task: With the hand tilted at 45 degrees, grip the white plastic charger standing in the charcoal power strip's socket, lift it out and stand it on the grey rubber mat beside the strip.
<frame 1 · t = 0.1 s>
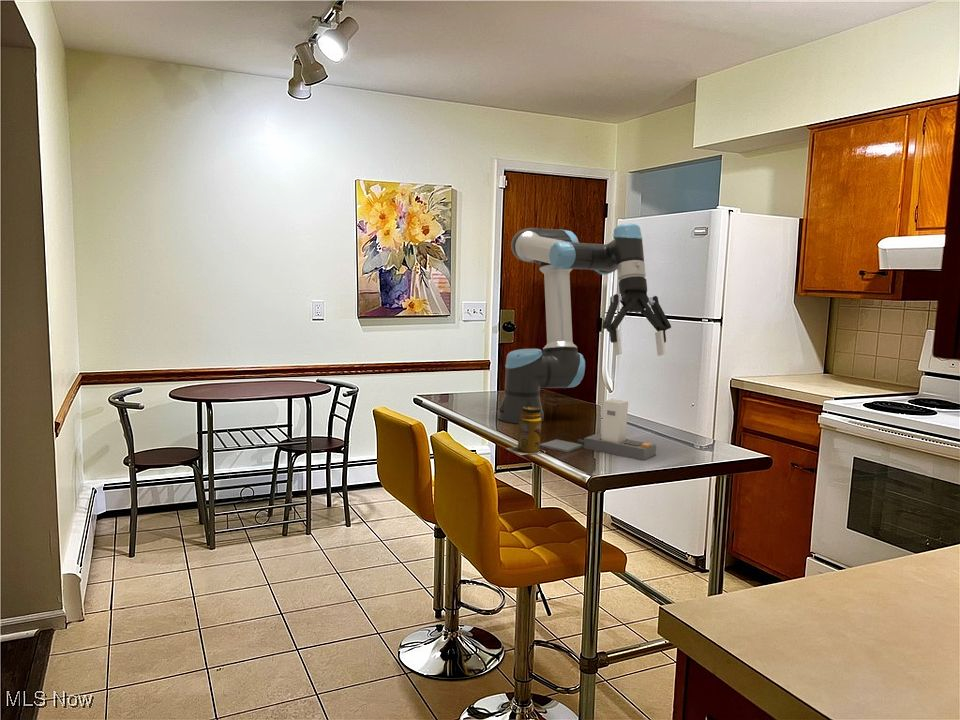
hand: (640, 354, 193), 28 cm above the table, tool tilted 20°, fingers open, 13 cm apart
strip: (619, 451, 200), on the table
mat: (561, 446, 202), on the table
charger: (613, 443, 201), point 2 cm above the table, touching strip
condiment: (525, 451, 196), on the table
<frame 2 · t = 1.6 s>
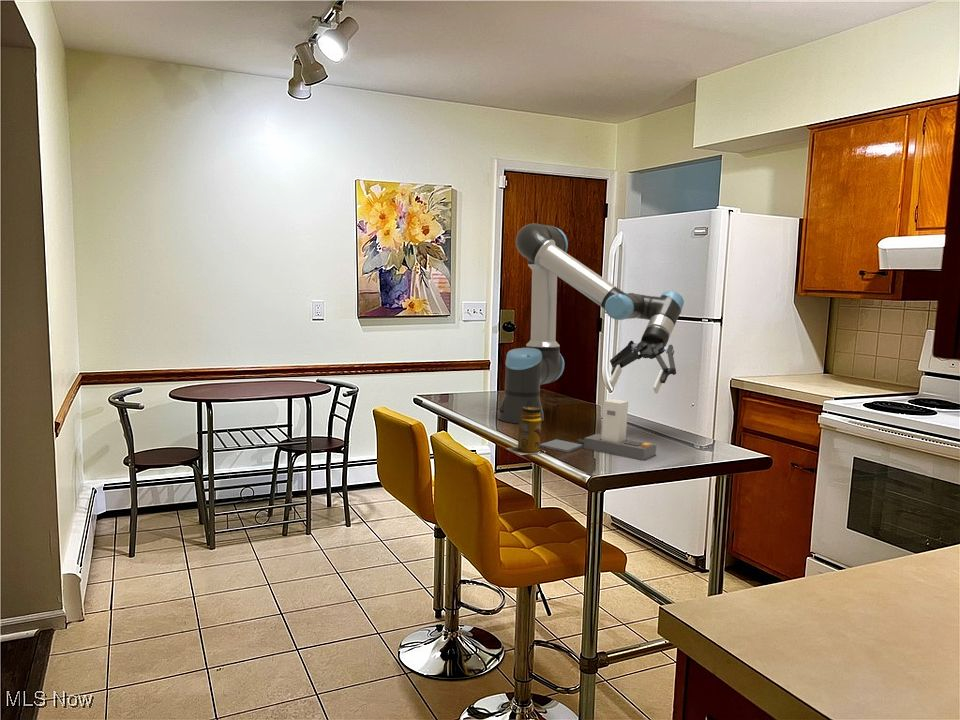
hand: (633, 387, 207), 17 cm above the table, tool tilted 45°, fingers open, 13 cm apart
nothing on the table moved.
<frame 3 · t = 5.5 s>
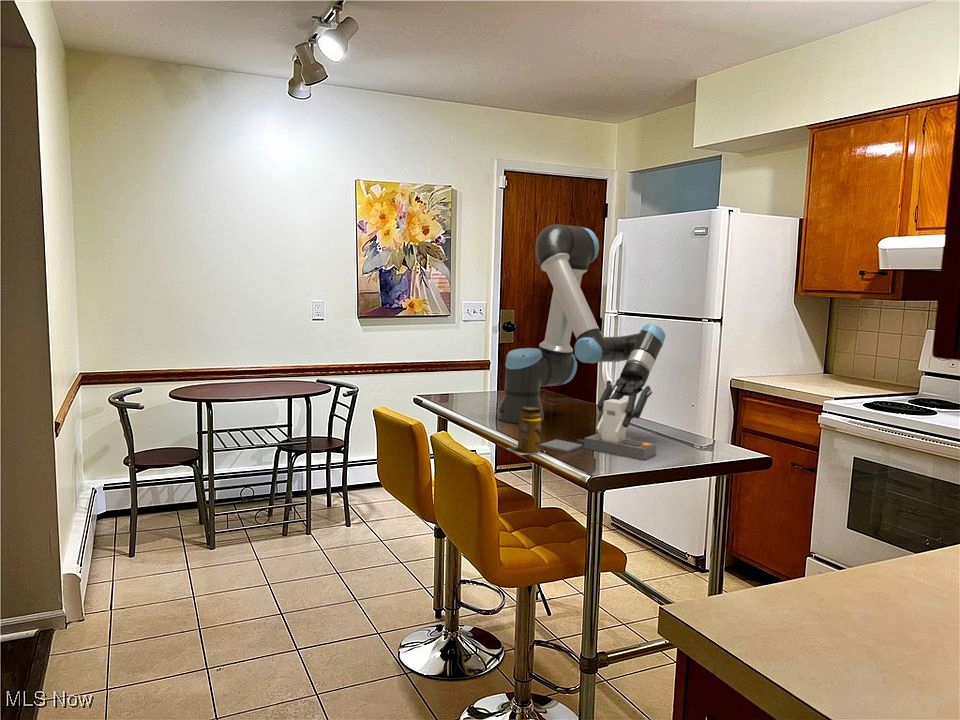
hand: (608, 433, 197), 5 cm above the table, tool tilted 45°, fingers closed on charger, 5 cm apart
charger: (613, 443, 201), point 2 cm above the table, touching gripper, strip
everything else where it was.
when the fingers open (6 cm above the table, at t = 11.3 s): charger drops 1 cm, resting on mat.
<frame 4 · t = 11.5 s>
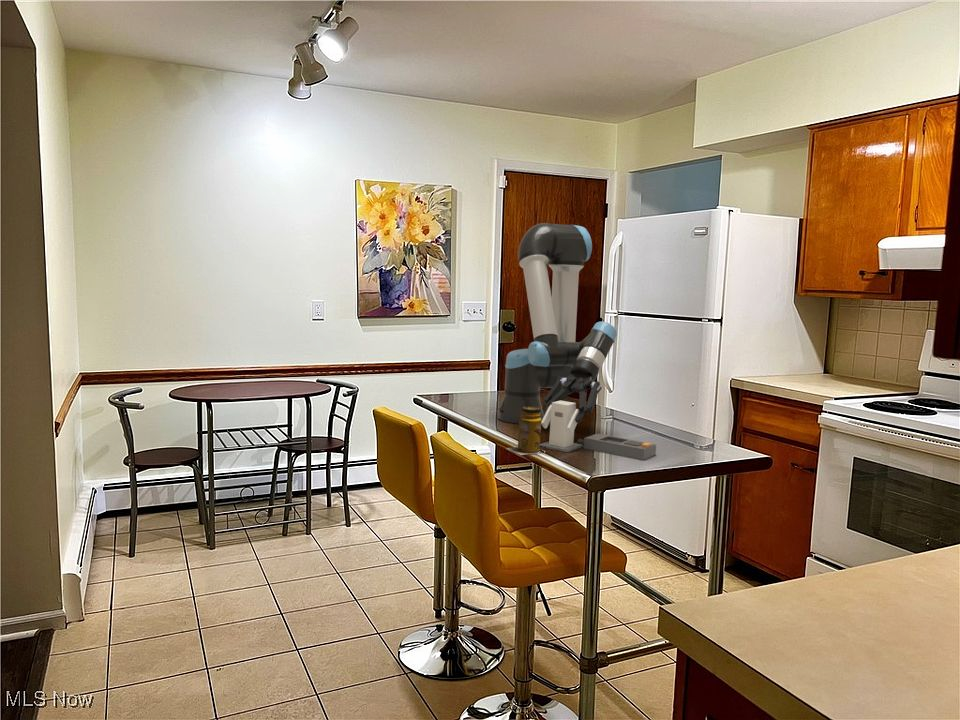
hand: (556, 428, 199), 6 cm above the table, tool tilted 45°, fingers open, 8 cm apart
charger: (561, 444, 202), point 1 cm above the table, touching mat
everything else where it was.
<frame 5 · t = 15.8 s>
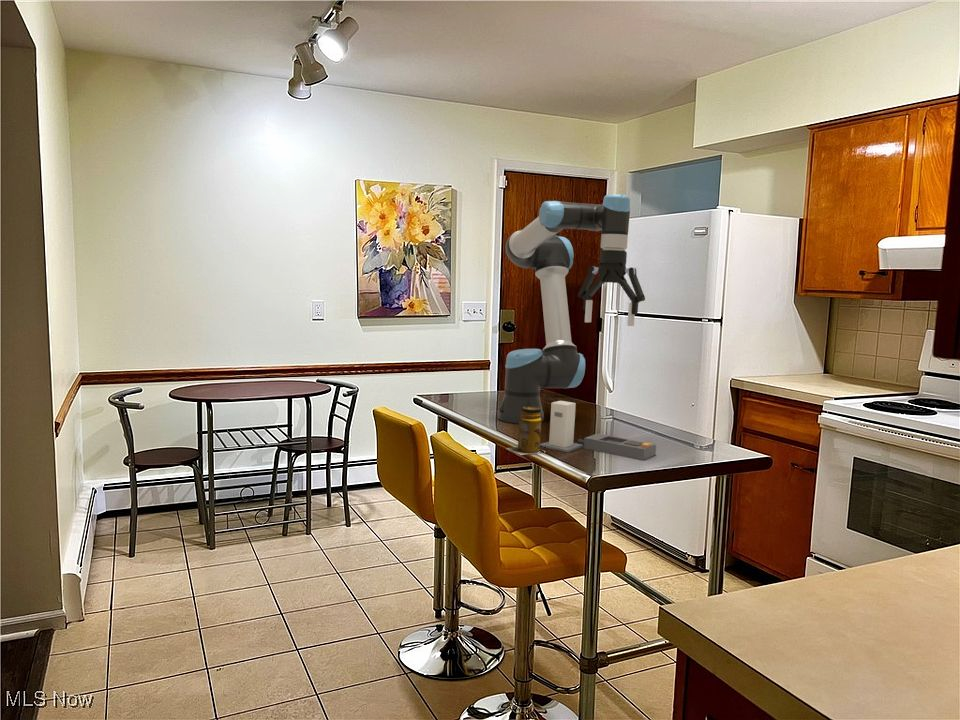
hand: (608, 324, 207), 35 cm above the table, tool pointing down, fingers open, 13 cm apart
nothing on the table moved.
at the end: charger inside the target area on the mat (0.1 cm from its centre), point 0.6 cm above the mat's base; charger tilted 0°; the gripper is holding nothing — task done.
